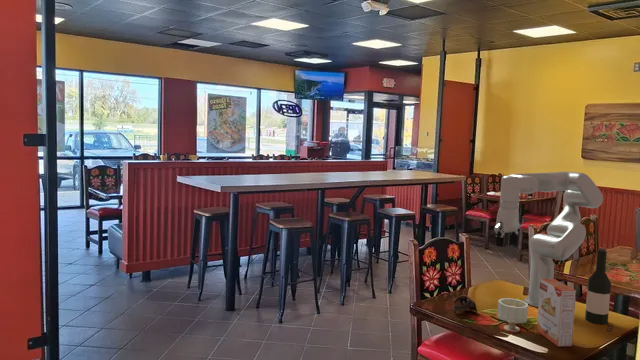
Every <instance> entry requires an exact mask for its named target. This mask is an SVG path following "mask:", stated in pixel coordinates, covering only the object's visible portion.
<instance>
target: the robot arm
mask: <svg viewBox="0 0 640 360" xmlns="http://www.w3.org/2000/svg"><path fill="white" fill-rule="evenodd" d="M563 191H564V192H563ZM535 192H542V193H551V192H563V197H562V198H563V201H562V202H563V205H562V206H563V207H562V208H563V209H562V211H560V213H559V214H558V215H557V216H556V217H555V218H554V219H553V220H552V221H551V223H550V224H549V225H548V226H547V228H546V234H545V233H536V234H534V235H532V236H531V238H530V239H529V252H530V270H529V282H528V283H529V284H528V296H526V297H525V298H524V299H523V301H524V302H526V303H527V304H529V305H528V306H531V307H535V308H538V307H539V292H540V279H554V275H555V274H554V272H555V264H554V261H553V260H556V261H565V260H568V258H569V257H571V255H573V253H575V251H576V250H577V249H578V248H579V247H581V245H582V244H583V242H584V241H585V239H586V235H587V229H586V227H585V226H584V224H581V220H582V217H581V212H580V208H579V207H581V208H587V209H597V208H599V207H600V206H601V205H602V204H603V202H604V195H603V193H602V191H601V189H600V188H599V187H598V185H597V184H596V183H595V182H594V181H593V180H592V178H591V177H590V175H588V174H586V173H584V172H577V171H555V172H553V171H551V172H531V173H529V172H526V173H513V174H509V175H503V176H502V177H501V181H500V194H499V208H498V210H497V214H496V222H495V226H494V227H493V230H494V233H495V237H496V238H495V246H496V247H500V248H503V247H504V246H505V245H504V242H505V241H504V240H505V237H504V236H505V234H506V233H510V234H509V235H510V236H509V244H512V245H518V239H519V238H518V237H519V232H520V229H521V226H522V225H521V222H520V220H519V219H520V216H519V215H520V214H519V209H520V206H519V205H520V194H526V195H529V194H534V193H535Z"/></svg>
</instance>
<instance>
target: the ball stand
mask: <svg viewBox="0 0 640 360" xmlns="http://www.w3.org/2000/svg"><path fill="white" fill-rule="evenodd" d="M507 323H508V324H506V325H504V326H503V328H504V331H508V332H509V331H511V332H510V333H519V332H520V330H521V329H520V327H518V326H516V325H517V324H518V323H517V322H516V321H513V320H509V321H508V322H507Z"/></svg>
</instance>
